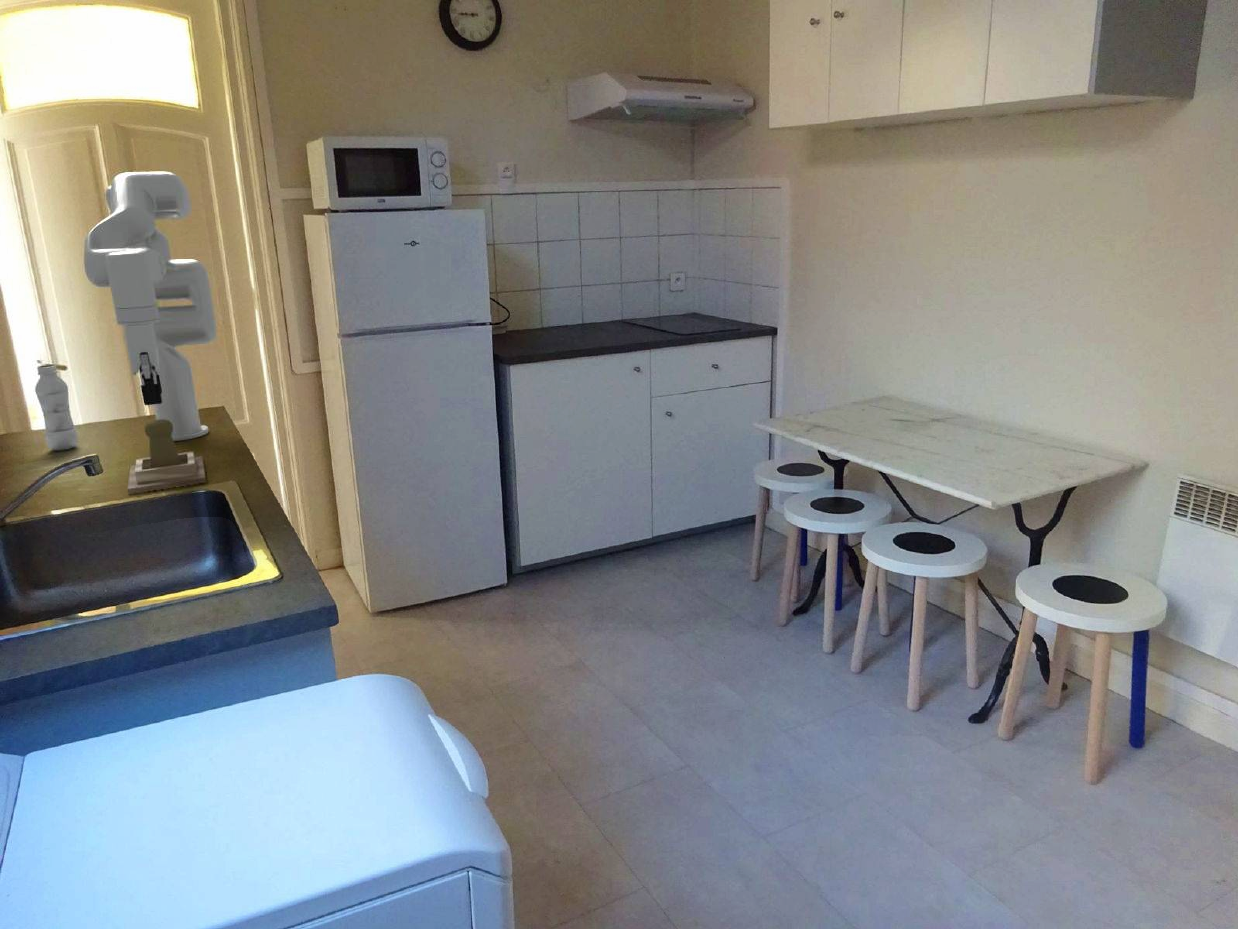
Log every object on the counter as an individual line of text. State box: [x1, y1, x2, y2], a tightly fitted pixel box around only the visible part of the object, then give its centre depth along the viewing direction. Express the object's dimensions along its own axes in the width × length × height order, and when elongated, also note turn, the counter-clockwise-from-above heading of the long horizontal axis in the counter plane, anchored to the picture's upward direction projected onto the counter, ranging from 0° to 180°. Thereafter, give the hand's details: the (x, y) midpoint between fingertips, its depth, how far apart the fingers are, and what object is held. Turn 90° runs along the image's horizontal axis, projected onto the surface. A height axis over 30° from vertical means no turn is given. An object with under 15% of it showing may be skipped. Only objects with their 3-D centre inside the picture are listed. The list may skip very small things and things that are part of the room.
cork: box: [144, 419, 181, 469], centre depth 181 cm, size 6×6×11 cm
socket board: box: [127, 451, 207, 495], centre depth 182 cm, size 18×14×3 cm
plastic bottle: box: [34, 364, 80, 451], centre depth 204 cm, size 6×7×20 cm
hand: (153, 399), depth 178 cm, fingers open, 9 cm apart
